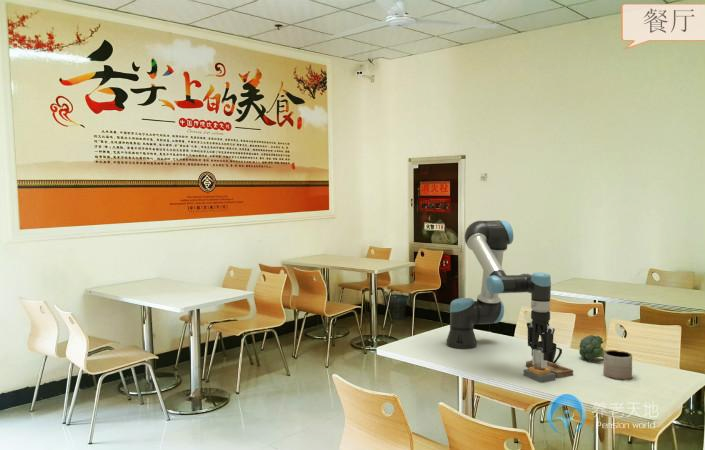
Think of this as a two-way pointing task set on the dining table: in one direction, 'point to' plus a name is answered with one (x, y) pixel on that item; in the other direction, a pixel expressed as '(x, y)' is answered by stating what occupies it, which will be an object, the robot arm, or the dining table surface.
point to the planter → (617, 364)
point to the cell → (537, 359)
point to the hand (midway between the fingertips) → (539, 365)
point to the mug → (551, 354)
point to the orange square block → (539, 371)
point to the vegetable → (591, 347)
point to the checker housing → (540, 376)
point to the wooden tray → (555, 369)
